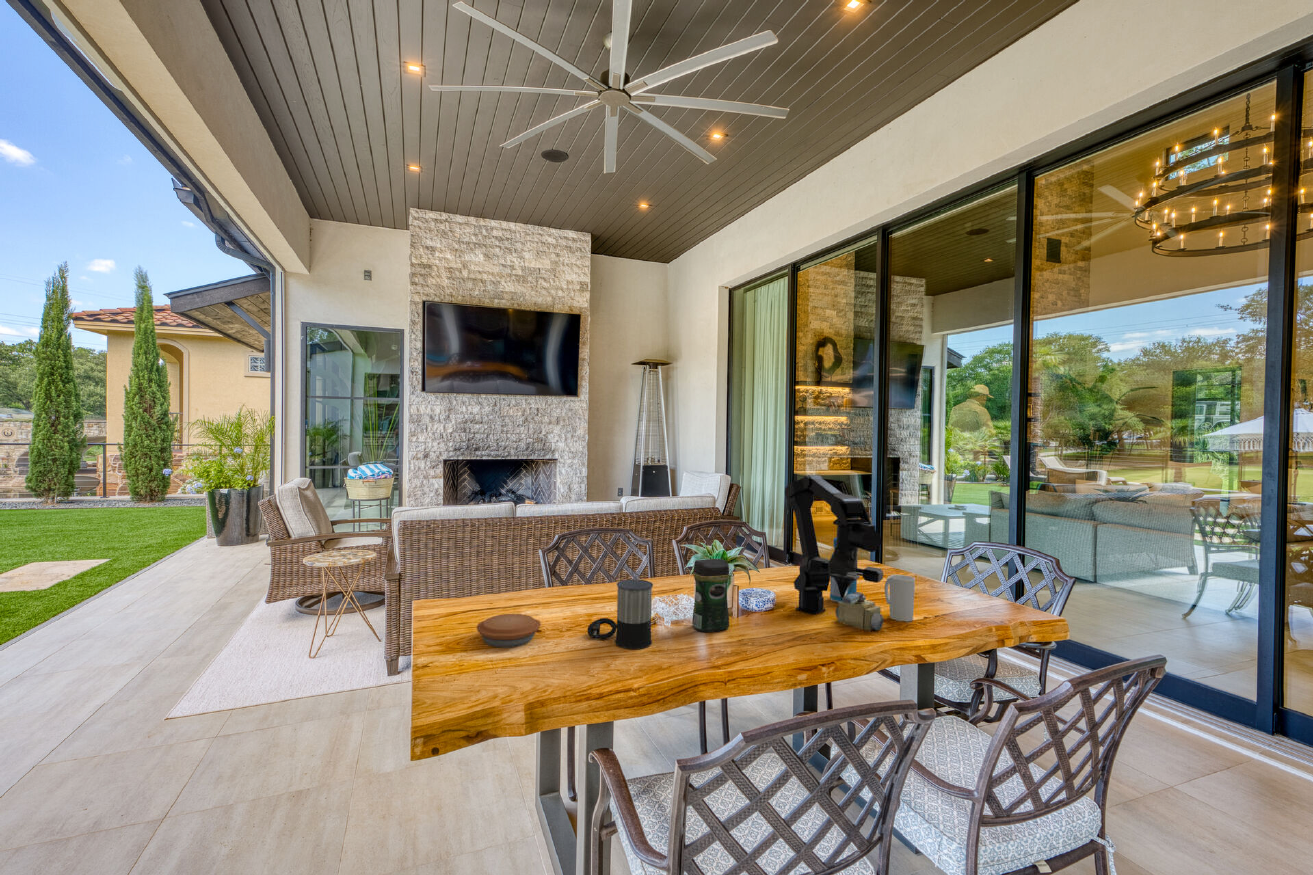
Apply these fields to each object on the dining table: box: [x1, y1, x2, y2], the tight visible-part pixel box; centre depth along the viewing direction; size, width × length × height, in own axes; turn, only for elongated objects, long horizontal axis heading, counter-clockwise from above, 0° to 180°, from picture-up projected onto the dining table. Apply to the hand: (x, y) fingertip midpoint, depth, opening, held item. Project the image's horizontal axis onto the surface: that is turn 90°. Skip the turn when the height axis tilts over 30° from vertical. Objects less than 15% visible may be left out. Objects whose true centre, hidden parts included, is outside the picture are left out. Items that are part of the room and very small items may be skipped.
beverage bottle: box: [829, 537, 859, 604], centre depth 185 cm, size 8×8×20 cm
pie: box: [476, 613, 542, 648], centre depth 143 cm, size 15×16×5 cm
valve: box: [835, 599, 884, 632], centre depth 161 cm, size 12×6×6 cm, turn 40°
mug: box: [884, 574, 916, 623], centre depth 169 cm, size 10×7×12 cm, turn 21°
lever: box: [842, 591, 867, 604], centre depth 158 cm, size 3×11×2 cm, turn 140°
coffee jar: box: [691, 558, 730, 633], centre depth 155 cm, size 10×8×19 cm
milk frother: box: [586, 578, 654, 650], centre depth 144 cm, size 14×16×15 cm
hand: (842, 600), depth 157 cm, fingers closed
